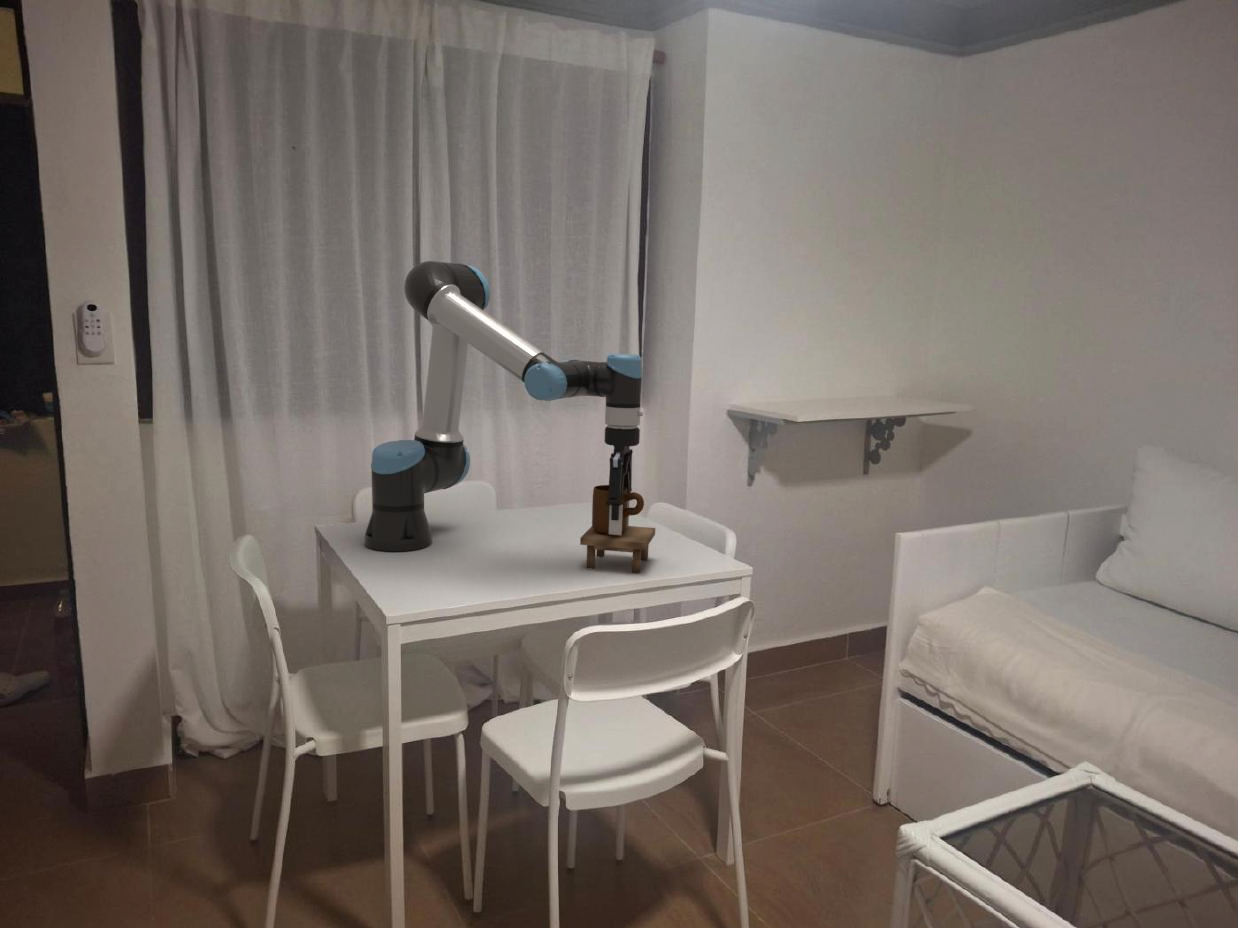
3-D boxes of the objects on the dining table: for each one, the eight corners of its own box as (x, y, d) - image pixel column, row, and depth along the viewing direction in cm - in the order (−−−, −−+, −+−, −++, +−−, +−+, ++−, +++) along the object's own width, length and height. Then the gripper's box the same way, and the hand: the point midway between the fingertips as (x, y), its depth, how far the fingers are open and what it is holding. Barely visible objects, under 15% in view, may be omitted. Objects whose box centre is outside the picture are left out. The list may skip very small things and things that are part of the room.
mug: (650, 532, 197) (651, 489, 196) (634, 539, 191) (635, 495, 189) (602, 524, 203) (603, 483, 201) (585, 530, 196) (586, 488, 195)
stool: (579, 569, 193) (580, 537, 192) (593, 552, 207) (594, 523, 206) (643, 575, 191) (645, 543, 189) (654, 558, 204) (655, 527, 203)
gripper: (631, 433, 183) (627, 542, 187) (647, 421, 203) (643, 521, 207) (595, 431, 184) (591, 539, 188) (614, 420, 204) (611, 518, 208)
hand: (618, 529), depth 197 cm, fingers closed on mug, 7 cm apart
